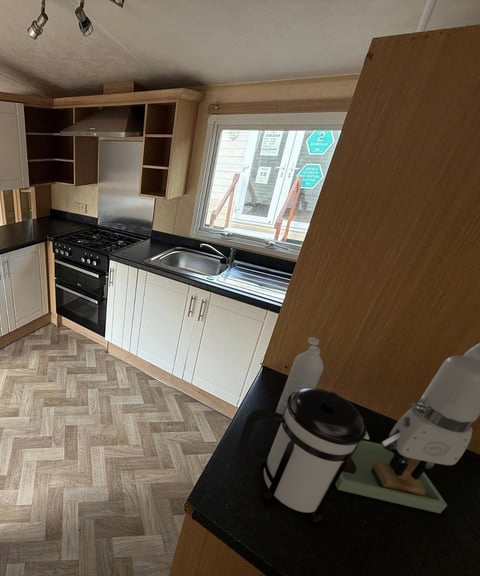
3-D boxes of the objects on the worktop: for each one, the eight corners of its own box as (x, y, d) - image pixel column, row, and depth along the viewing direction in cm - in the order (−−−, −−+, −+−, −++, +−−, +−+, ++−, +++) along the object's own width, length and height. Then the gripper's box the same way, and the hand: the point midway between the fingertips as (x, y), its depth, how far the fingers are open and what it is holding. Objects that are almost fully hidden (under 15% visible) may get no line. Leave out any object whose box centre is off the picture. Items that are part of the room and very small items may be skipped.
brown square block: (346, 459, 78) (349, 453, 77) (354, 474, 75) (357, 468, 74) (328, 455, 79) (331, 450, 78) (335, 469, 76) (338, 464, 75)
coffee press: (287, 450, 81) (325, 359, 68) (345, 516, 67) (407, 417, 54) (229, 466, 77) (257, 372, 64) (277, 539, 63) (326, 438, 50)
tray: (402, 457, 79) (408, 449, 78) (440, 513, 68) (447, 505, 66) (316, 439, 84) (320, 431, 82) (337, 489, 72) (342, 481, 71)
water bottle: (301, 430, 86) (331, 359, 75) (274, 421, 89) (300, 351, 78) (299, 408, 93) (328, 340, 82) (275, 400, 96) (299, 333, 85)
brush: (405, 478, 74) (427, 449, 69) (419, 500, 69) (442, 470, 65) (370, 469, 76) (388, 440, 71) (380, 491, 71) (401, 461, 67)
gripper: (407, 419, 61) (369, 478, 69) (511, 438, 57) (459, 497, 65) (385, 392, 67) (354, 448, 75) (478, 407, 64) (434, 464, 72)
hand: (403, 471), depth 70 cm, fingers closed on brush, 2 cm apart
